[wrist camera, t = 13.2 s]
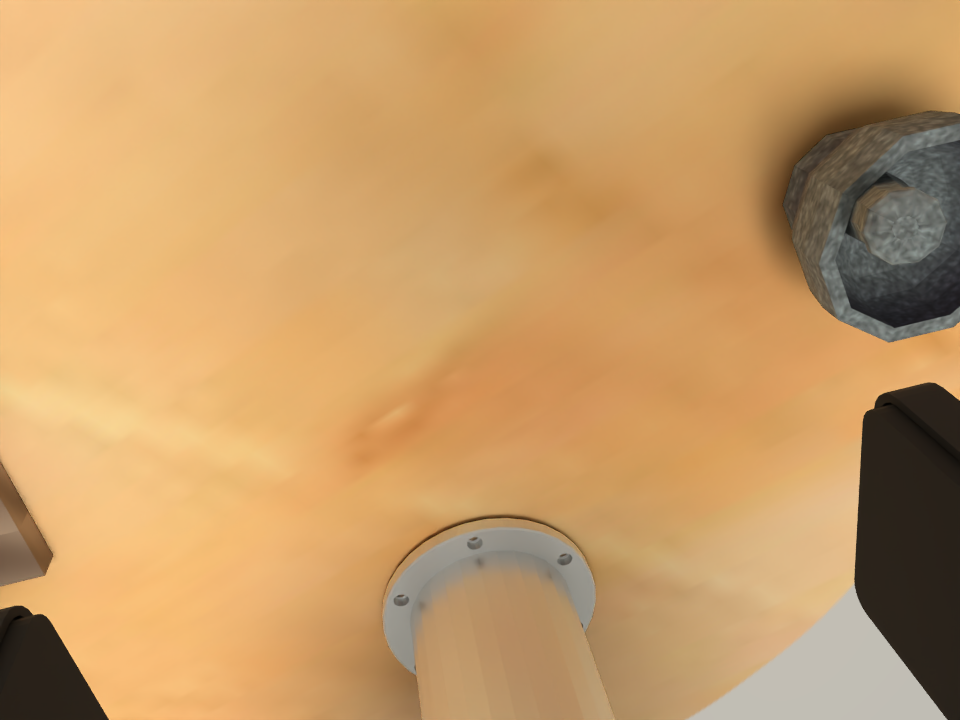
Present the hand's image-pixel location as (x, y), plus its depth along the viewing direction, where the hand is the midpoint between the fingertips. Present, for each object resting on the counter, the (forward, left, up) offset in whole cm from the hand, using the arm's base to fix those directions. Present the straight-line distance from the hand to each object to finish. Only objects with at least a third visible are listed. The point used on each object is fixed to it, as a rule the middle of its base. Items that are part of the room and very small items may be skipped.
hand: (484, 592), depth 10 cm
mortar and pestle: (-9, -21, -31) cm, 38 cm away
